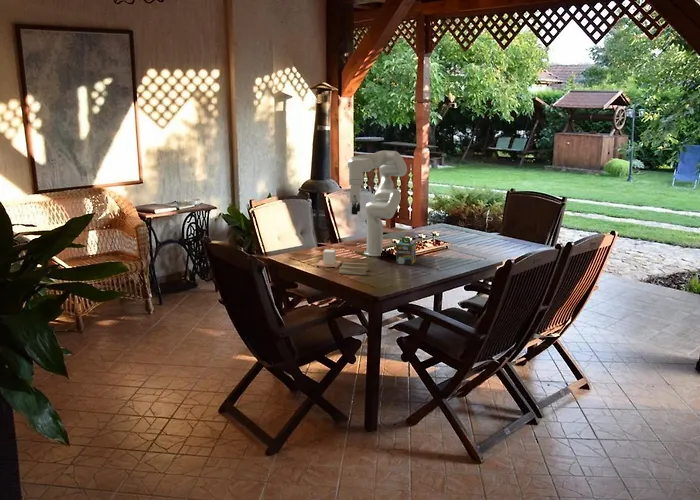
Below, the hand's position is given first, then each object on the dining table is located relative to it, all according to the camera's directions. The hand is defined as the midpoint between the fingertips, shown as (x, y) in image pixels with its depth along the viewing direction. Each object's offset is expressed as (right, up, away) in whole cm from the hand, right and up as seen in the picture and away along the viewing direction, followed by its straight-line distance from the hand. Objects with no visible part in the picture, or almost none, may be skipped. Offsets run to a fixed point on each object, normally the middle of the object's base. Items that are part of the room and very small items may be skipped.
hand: (355, 212), depth 360 cm
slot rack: (-1, -32, -13) cm, 35 cm away
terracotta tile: (-15, -29, +1) cm, 32 cm away
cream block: (-15, -28, +1) cm, 31 cm away
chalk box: (+28, -28, +6) cm, 40 cm away
